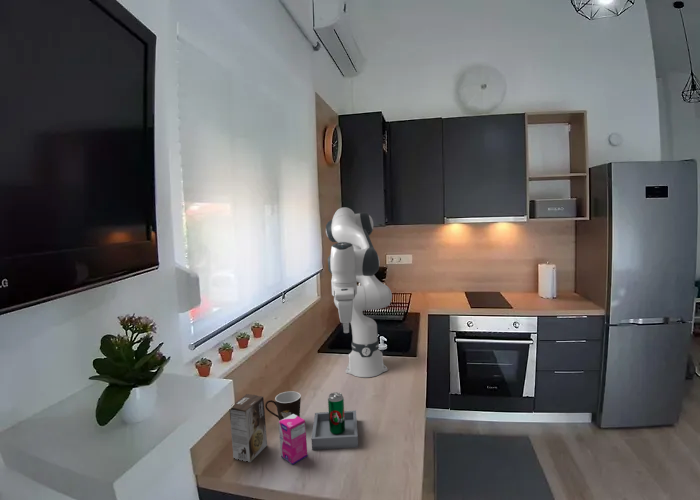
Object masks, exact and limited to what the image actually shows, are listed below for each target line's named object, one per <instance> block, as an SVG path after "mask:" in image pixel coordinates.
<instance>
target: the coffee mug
mask: <svg viewBox="0 0 700 500" xmlns="http://www.w3.org/2000/svg"><path fill="white" fill-rule="evenodd" d="M301 400H302V396H301V393H300V392H298V391H295V390H294V391H293V390H292V391H291V390H290V391H284V392H280V393H279V394H277V395H276V396H275V398H274V400H272V399H269V400H268V401H266V402H265V403H264V408H265V409H266V410H267V412H269V414H271V415H272V416H274V417H276V418H277V419H278V422H279V421H280V420H282V419H284V418H286V417H288V416H290V415H292V414H295V415H297V416H298V417H300V415H301ZM269 403H273V404H274V405H275V406H276V412H277V414H276V413H275V412H273V411H271V409H269V408H268V404H269ZM300 418H301V417H300Z"/></svg>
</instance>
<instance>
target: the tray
mask: <svg viewBox="0 0 700 500" xmlns="http://www.w3.org/2000/svg"><path fill="white" fill-rule="evenodd" d="M344 414H345V431H344V432H343V433H342V434H338V435H335V434H332V433H331V432H330V428H329V411H325V412H314V418H313V426H312V430H311V451H316V450H317V451H320V450H334V449H335V450H336V449H337V450H339V449H351V448H353V449H355V448H359V436H358V435H359V432H358V422H357V421H358V419H357V410H344Z"/></svg>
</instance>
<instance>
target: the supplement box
mask: <svg viewBox="0 0 700 500" xmlns="http://www.w3.org/2000/svg"><path fill="white" fill-rule="evenodd" d="M306 429H307V428H306V420H305V419H304V418H302V417H298V416H297V415H295V414H292V415H290V416H288V417H286V418H284V419H282V420H280V421H279V420H278V431H279V444H280V445H279V446H280V447H279V448H280V457H281V458H282V459H284V460H286V461H287V462H288V463H290V464H291V465H294V464H296V463H298V462H300V461H302V460H304V459H305V458H307V457H308V456H309V455H308V446H307V445H308V443H307V442H308V441H307V432H306Z"/></svg>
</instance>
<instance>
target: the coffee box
mask: <svg viewBox="0 0 700 500" xmlns="http://www.w3.org/2000/svg"><path fill="white" fill-rule="evenodd" d="M264 401H265V400H264V396H262V395H261V396H260V395H257V394H249V393H246V394H245V395H243V396H242V397H241V398H239V399H238V400H237V401H236V402H234V403H235V405H234V407H233V408H232V409H231V410H230V409H229V420H230V431H231V432H230V433H231V446H232V457H233V459H234V458H235V459H234V460H238V459H239V461H242V460H243V462H246V461H248V462H247V463H251V462H253V460H254V459H255V458H257V456H258V455H259V454H260V453H261V452H262V451H263V450H264V449H265V448H266V447H267V446H268V439H267V438H268V437H267V426H266V414H265V413H266V411H265V402H264Z"/></svg>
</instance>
